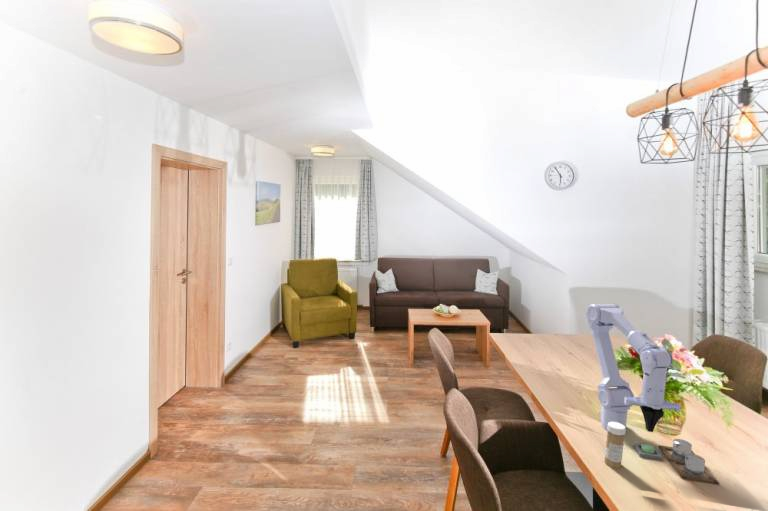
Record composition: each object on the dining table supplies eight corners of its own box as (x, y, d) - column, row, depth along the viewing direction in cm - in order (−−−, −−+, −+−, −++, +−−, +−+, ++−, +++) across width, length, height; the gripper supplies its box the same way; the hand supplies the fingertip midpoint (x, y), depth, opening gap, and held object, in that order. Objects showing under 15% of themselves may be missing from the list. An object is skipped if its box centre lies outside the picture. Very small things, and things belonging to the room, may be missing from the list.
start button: (639, 452, 129) (639, 442, 129) (651, 453, 128) (652, 444, 128) (642, 458, 126) (643, 448, 126) (655, 460, 125) (656, 450, 125)
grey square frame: (632, 450, 131) (633, 443, 130) (654, 453, 129) (655, 446, 129) (639, 461, 125) (639, 453, 125) (661, 464, 123) (662, 456, 123)
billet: (685, 480, 116) (687, 459, 116) (681, 471, 120) (683, 451, 120) (705, 484, 115) (707, 464, 114) (700, 475, 119) (702, 456, 118)
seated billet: (668, 456, 128) (670, 438, 127) (685, 458, 127) (687, 440, 126) (675, 464, 124) (677, 446, 123) (692, 467, 123) (694, 448, 122)
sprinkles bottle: (605, 461, 124) (609, 419, 123) (622, 468, 121) (626, 424, 120) (601, 468, 121) (606, 425, 119) (619, 475, 118) (624, 431, 116)
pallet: (658, 451, 131) (658, 445, 131) (690, 456, 128) (691, 449, 128) (681, 483, 115) (681, 476, 115) (718, 489, 113) (719, 483, 112)
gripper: (630, 389, 123) (626, 432, 124) (687, 396, 119) (682, 440, 121) (623, 380, 130) (620, 421, 131) (676, 386, 126) (672, 428, 127)
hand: (649, 430), depth 126 cm, fingers closed
